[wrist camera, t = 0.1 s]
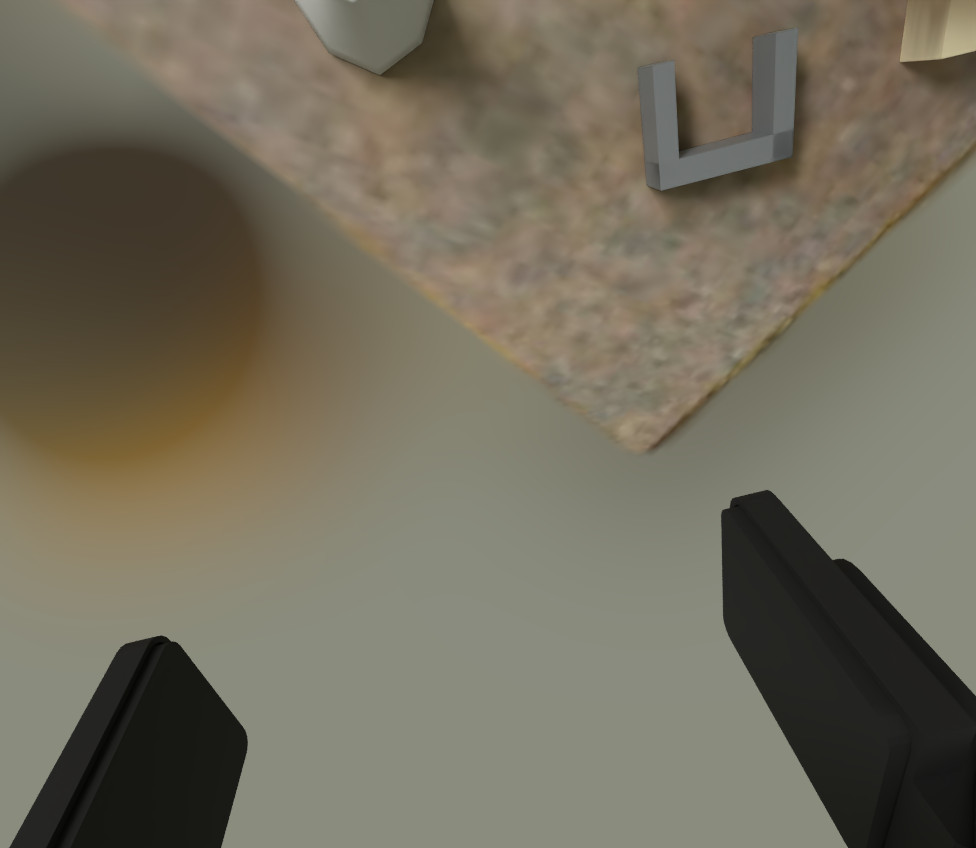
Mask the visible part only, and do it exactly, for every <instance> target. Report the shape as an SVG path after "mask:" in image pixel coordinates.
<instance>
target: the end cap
mask: <svg viewBox="0 0 976 848" xmlns="http://www.w3.org/2000/svg"><path fill="white" fill-rule="evenodd" d="M797 42H798V27H797V28H792V29H786V30H781V31H775V32H771V33H767V34H763V35H760V36H756V37H753V88H752V132H750V133H747V134H743V135H739V136H735V137H731V138H727V139H723V140H720V141H716V142H712V143H708V144H704V145H700V146H696V147H693V148H689V149H685V150H681V151H679V147H678V127H677V107H676V87H675V67H674V60H672V61H665V62H658V63H654V64H650V65H646V66H642V67H639V68H638V80H639V93H640V106H641V118H642V131H643V144H644V157H645V169H646V182H647V185H648V186H650V187H653V188H655V189H658V190H660V191H662V190H666V189H670V188H673V187H677V186H681V185H685V184H689V183H693V182H697V181H701V180H704V179H708V178H712V177H716V176H720V175H724V174H728V173H732V172H735V171H739V170H743V169H747V168H751V167H755V166H759V165H763V164H766V163H770V162H774V161H778V160H782V159H786V158H790V157H792V155H793V133H794V110H795V87H796V64H797Z"/></svg>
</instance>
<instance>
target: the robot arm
mask: <svg viewBox="0 0 976 848" xmlns="http://www.w3.org/2000/svg"><path fill="white" fill-rule="evenodd" d="M721 527H722V577H723V579H722V580H723V619H724V624H725V627H726V630H727V633H728V635H729V637H730V639H731V641H732V643H733V645H734V647H735V648H736V650H737V652H738V654H739V655H740V657H741V659H742V661H743V663H744V664H745V666H746V668H747V670H748V671H749V673H750V675H751V677H752V678H753V680H754V682H755V683H756V686H757V687H758V689H759V691H760V693H761V694H762V696H763V698H764V700H765V701H766V703H767V705H768V707H769V709H770V710H771V712H772V714H773V716H774V717H775V719H776V721H777V723H778V724H779V726H780V728H781V730H782V732H783V733H784V735H785V737H786V739H787V740H788V742H789V744H790V746H791V748H792V749H793V751H794V753H795V755H796V756H797V758H798V760H799V762H800V763H801V765H802V767H803V768H804V771H805V772H806V774H807V776H808V778H809V779H810V781H811V783H812V785H813V787H814V788H815V790H816V792H817V794H818V795H819V797H820V799H821V801H822V802H823V804H824V806H825V808H826V810H827V811H828V813H829V815H830V817H831V818H832V820H833V822H834V824H835V826H836V827H837V829H838V831H839V833H840V834H841V836H842V838H843V840H844V842H845V843H846V845H847V846H848V848H976V696H975V695H974V694H973V693H972V692H971V690H970V689H969V688H968V687H967V686H966V685H965V684H964V683H963V682H962V681H961V680H960V678H959V677H958V676H957V675H956V674H955V673H954V672H953V671H952V670H951V669H950V668H949V666H948V665H947V664H946V663H945V662H944V661H943V660H942V659H941V658H940V657H939V656H938V655H937V653H936V652H935V651H934V650H933V649H932V648H931V647H930V646H929V645H928V644H927V643H926V641H925V640H923V638H922V637H921V636H920V635H919V634H918V633H917V632H916V631H915V629H914V628H913V627H912V626H911V625H910V624H909V623H908V622H907V621H906V620H905V619H904V618H903V616H902V615H901V614H900V613H899V612H898V611H897V610H896V609H895V608H894V607H893V606H892V605H891V603H889V601H888V600H887V599H886V598H885V597H884V596H883V595H882V594H881V592H880V591H879V590H878V589H877V588H876V587H875V586H874V585H873V584H872V583H871V582H870V581H869V580H868V578H867V577H866V576H865V575H864V574H863V573H862V572H861V571H860V570H859V569H858V568H857V567H856V566H855V565H853V564H852V563H851V562H849V561H847V560H845V559H835V560H832V559H831V558H830V557H829V556H828V555H827V554H826V552H825V551H824V550H823V549H822V548H821V547H820V546H819V545H818V544H817V542H816V541H815V540H814V539H813V538H812V537H811V535H810V534H809V533H808V532H807V531H806V530H805V529H804V527H803V526H802V525H801V524H800V523H799V522H798V521H797V519H796V518H795V517H794V516H793V515H792V514H791V513H790V512H789V510H788V509H787V508H786V507H785V506H784V505H783V504H782V502H781V501H780V500H779V499H778V498H777V497H776V496H775V495H774V494H773V493H772V492H771V491H768V490H765V491H761V492H757V493H753V494H748V495H744V496H740V497H736V498H733V499H732V501H731V504H730V508H729V509H725V510H723V511H722V514H721ZM247 745H248V741H247V735H246V732H245V730H244V728H243V726H242V725H241V724H240V723H239V721H238V720H237V719H236V717H235V716H234V715H233V714H232V712H231V711H230V710H229V708H228V707H227V706H226V705H225V703H224V702H223V701H222V699H221V698H220V697H219V695H218V694H217V693H216V692H215V690H214V689H213V688H212V686H211V685H210V684H209V682H208V681H207V680H206V678H205V677H204V676H203V675H202V673H201V672H200V671H199V669H198V668H197V667H196V666H195V664H194V663H193V662H192V660H191V659H190V658H189V656H188V655H187V654H186V652H185V651H184V650H183V649H182V647H181V646H180V645H179V644H178V643H176V642H171V641H170V640H169V639H168V638H167V637H164V636H156V637H152V638H148V639H144V640H139V641H135V642H131V643H127V644H125V645H124V646H122V647H121V648H120V649H119V651H118V652H117V653H116V655H115V657H114V659H113V660H112V662H111V664H110V666H109V668H108V670H107V672H106V674H105V675H104V677H103V679H102V681H101V682H100V684H99V686H98V688H97V690H96V692H95V693H94V695H93V697H92V699H91V701H90V702H89V704H88V706H87V708H86V710H85V711H84V713H83V715H82V717H81V719H80V720H79V722H78V724H77V726H76V728H75V730H74V732H73V733H72V735H71V737H70V739H69V740H68V742H67V744H66V746H65V748H64V750H63V751H62V753H61V755H60V757H59V759H58V760H57V762H56V764H55V766H54V768H53V769H52V771H51V773H50V775H49V777H48V779H47V780H46V782H45V784H44V786H43V788H42V789H41V791H40V793H39V795H38V797H37V799H36V801H35V802H34V804H33V806H32V808H31V809H30V811H29V813H28V815H27V817H26V819H25V820H24V822H23V824H22V826H21V828H20V830H19V831H18V833H17V835H16V837H15V839H14V840H13V842H12V844H11V846H10V848H221V845H222V842H223V838H224V835H225V831H226V827H227V824H228V820H229V816H230V812H231V809H232V805H233V801H234V798H235V794H236V790H237V786H238V783H239V779H240V775H241V772H242V768H243V764H244V760H245V756H246V753H247Z"/></svg>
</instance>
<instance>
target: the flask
mask: <svg viewBox="0 0 976 848" xmlns="http://www.w3.org/2000/svg"><path fill="white" fill-rule="evenodd" d="M295 2H296V3H297V5H298V7H299V8H300V10H301V11H302V13H303V14H304V16H305V17H306V19H307V20H308V22H309V23H310V25H311V27H312V28H313V30H314V31H315V33H316V34H317V36H318V37H319V39H320V40H321V42H322V44H323V45H324V47H325V48H326V50H327V51H328V53H330V54H332V55H334V56H337V57H339V58H341V59H344V60H346V61H348V62H351V63H353V64H355V65H357V66H360V67H362V68H364V69H367V70H369V71H371V72H374V73H376V74H378V75H381V74H382V73H384V72H385V71H386V70H388V69H389V68H390V67H391V66H393V65H394V64H395V63H397V62H398V61H399V60H401V59H402V58H403V57H405V56H406V55H407V54H408V53H410V52H411V51H412V50H414V49H415V48H416V47H418V46H419V45H420V44H422V42H423V38H424V34H425V31H426V27H427V24H428V20H429V16H430V13H431V9H432V6H433V2H434V0H295Z"/></svg>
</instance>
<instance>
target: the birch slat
mask: <svg viewBox="0 0 976 848" xmlns="http://www.w3.org/2000/svg"><path fill="white" fill-rule="evenodd" d="M973 51H976V0H908V5H907V12H906V19H905V27H904V34H903V41H902V48H901V56H900V62H908V61H922V60H936V59H944V58H948V57H952V56H956V55H960V54H964V53H969V52H973Z"/></svg>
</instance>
